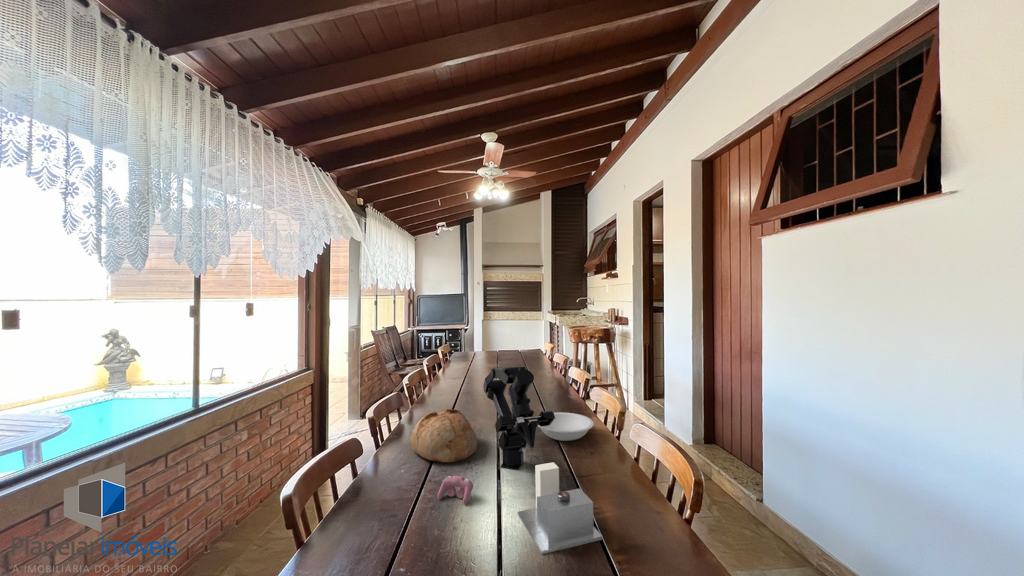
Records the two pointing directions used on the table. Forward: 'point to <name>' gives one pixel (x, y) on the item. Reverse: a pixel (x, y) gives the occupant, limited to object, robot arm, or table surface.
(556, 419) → the soup bowl
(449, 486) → the video game controller
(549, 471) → the white rectangular block
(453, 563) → the table surface
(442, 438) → the bread
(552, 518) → the mount
